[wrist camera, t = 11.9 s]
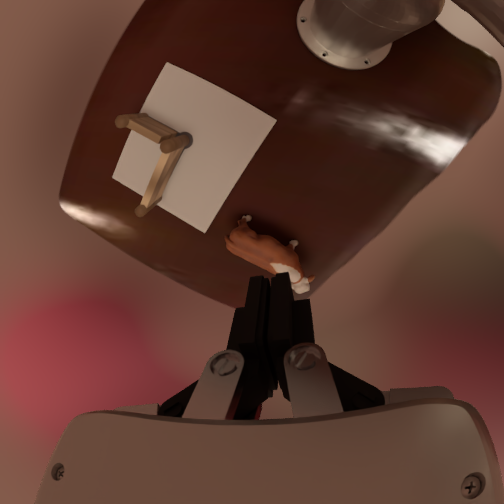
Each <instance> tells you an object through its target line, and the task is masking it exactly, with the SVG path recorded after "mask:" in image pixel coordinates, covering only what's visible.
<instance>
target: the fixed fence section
mask: <svg viewBox="0 0 504 504" xmlns="http://www.w3.org/2000/svg"><path fill="white" fill-rule="evenodd" d="M115 124H116V126H117V127H118V128H123V127H128V128H130V129H131V130H133V131H135V132H137V133H139V134H141V135H142V136H144V137H146V138H148V139H150V140H152V141H153V142H155V143H157V144H160V143H161V142H162V141H164V140H167V139H171V138H174V137H176V135H177V133H178V132H176V131H174V130H172V129H171V128H169V127H167V126H165V125H163V124H161V123H159V122H157V121H156V120H154V119H152V118H150V117H149V116H148V114H147V113H136V114H126V115H119V116H118V117H117V118H116V120H115Z"/></svg>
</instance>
